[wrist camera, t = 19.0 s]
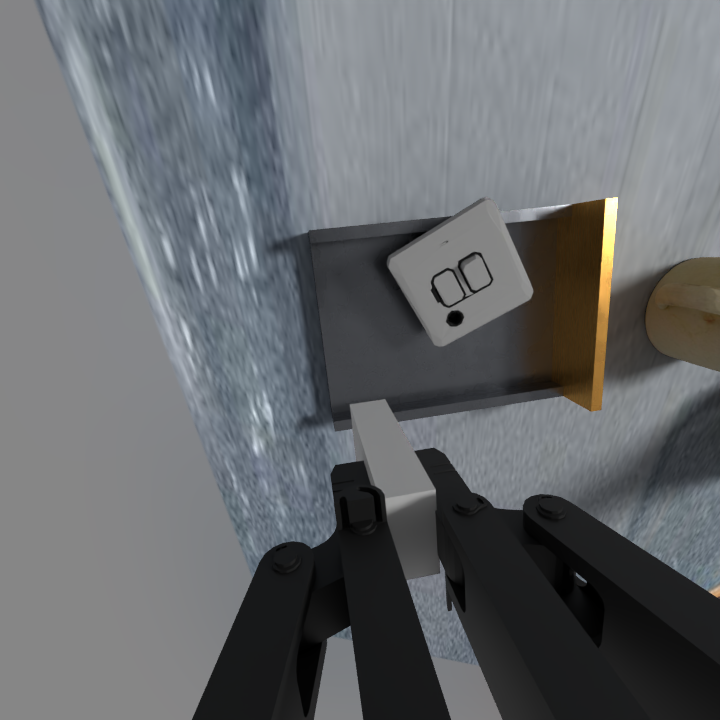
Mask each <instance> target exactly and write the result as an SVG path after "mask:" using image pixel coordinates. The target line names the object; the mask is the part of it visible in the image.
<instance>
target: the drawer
mask: <svg viewBox="0 0 720 720" xmlns="http://www.w3.org/2000/svg"><path fill="white" fill-rule="evenodd" d="M617 200H618V198H609V199H602V200H596V201H589V202H583V203H577V204H570V205H560V206H550V207H540V208H530V209H520V210H510V211H500V214H501V216H502V218H503V221H504V223H505V225H506V228H507V230H508V232H509V235H510V237H511V239H512V241H513V244H514V246H515V248H516V251H517V253H518V255H519V258H520V260H521V262H522V265H523V267H524V269H525V271H526V274H527V276H528V278H529V281H530V283H531V286H532V288H533V294H532V297H531V299H530V300H528V301H526V302H525V303H523V304H521V305H519V306H517V307H515V308H514V309H512V310H510V311H508V312H506V313H504V314H503V315H501V316H499V317H497V318H495V319H493V320H491V321H490V322H488V323H486V324H484V325H482V326H480V327H479V328H477V329H475V330H473V331H471V332H469V333H467V334H466V335H464V336H462V337H460V338H458V339H456V340H455V341H453V342H451V343H449V344H447V345H445V346H442V347H438V346H436V345H434V344H433V342H432V341H431V339H430V337H429V336H428V334H427V332H426V330H425V329H424V327H423V325H422V323H421V322H420V320H419V318H418V317H417V315H416V313H415V312H414V310H413V308H412V307H411V305H410V303H409V302H408V300H407V298H406V297H405V295H404V293H403V291H402V290H401V288H400V286H399V285H398V283H397V281H396V280H395V278H394V277H393V275H392V273H391V272H390V270H389V268H388V267H387V260H388V257H389V256H390V255H391V254H393V253H394V252H396V251H397V250H399V249H401V248H402V247H404V246H405V245H407V244H409V243H410V242H412V241H413V240H415V239H417V238H418V237H420V236H422V235H423V234H425V233H426V232H428V231H430V230H431V229H433V228H434V227H436V226H438V225H439V224H441V223H442V222H444V221H446V220H447V219H449V218H451V217H452V216H450V217H440V218H430V219H420V220H410V221H400V222H390V223H380V224H370V225H359V226H349V227H339V228H329V229H319V230H309V232H308V234H309V242H310V249H311V257H312V265H313V272H314V280H315V288H316V295H317V303H318V311H319V318H320V326H321V334H322V341H323V349H324V357H325V364H326V372H327V380H328V387H329V395H330V403H331V410H332V417H333V423H334V428H335V431H341V430H348V429H353V428H352V420H351V411H350V404H356V403H362V402H369V401H376V400H382V399H385V400H386V402H387V404H388V405H389V407H390V409H391V411H392V412H393V414H394V416H395V418H396V420H397V421H398V422H399V421H406V420H412V419H418V418H425V417H431V416H438V415H444V414H450V413H457V412H463V411H470V410H476V409H483V408H489V407H495V406H502V405H508V404H515V403H521V402H527V401H534V400H540V399H547V398H553V397H559V396H564V397H566V398H568V399H570V400H571V401H573V402H575V403H577V404H578V405H580V406H582V407H584V408H586V409H587V410H589V411H597V410H601V406H602V393H603V380H604V367H605V355H606V342H607V329H608V316H609V303H610V290H611V278H612V265H613V252H614V239H615V226H616V213H617Z"/></svg>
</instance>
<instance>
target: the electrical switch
mask: <svg viewBox="0 0 720 720" xmlns="http://www.w3.org/2000/svg"><path fill="white" fill-rule="evenodd" d="M387 267H388V268H389V270H390V272H391V273H392V275H393V277H394V278H395V280H396V281H397V283H398V285H399V286H400V288H401V290H402V291H403V293H404V295H405V297H406V298H407V300H408V302H409V303H410V305H411V307H412V308H413V310H414V312H415V313H416V315H417V317H418V318H419V320H420V322H421V323H422V325H423V327H424V329H425V330H426V332H427V334H428V336H429V337H430V339H431V341H432V342H433V344H434V345H436V346H438V347H442V346H445V345H447V344H449V343H451V342H453V341H455V340H456V339H458V338H460V337H462V336H464V335H466V334H467V333H469V332H471V331H473V330H475V329H477V328H479V327H480V326H482V325H484V324H486V323H488V322H490V321H491V320H493V319H495V318H497V317H499V316H501V315H503V314H504V313H506V312H508V311H510V310H512V309H514V308H515V307H517V306H519V305H521V304H523V303H525V302H526V301H528V300H530V299H531V297H532V294H533V288H532V286H531V283H530V281H529V278H528V276H527V274H526V271H525V269H524V267H523V265H522V262H521V260H520V258H519V255H518V253H517V251H516V248H515V246H514V244H513V241H512V239H511V237H510V235H509V232H508V230H507V228H506V225H505V223H504V221H503V218H502V216H501V214H500V212H499V209H498V207H497V205H496V203H495V202H494V201H493V200H491V199H489V198H487V197H484V198H482V199H480V200H478V201H476V202H475V203H473V204H471V205H470V206H468V207H467V208H465V209H463V210H462V211H460V212H459V213H457V214H455V215H454V216H452V217H451V218H449V219H447V220H446V221H444V222H442V223H441V224H439V225H438V226H436V227H434V228H433V229H431V230H430V231H428V232H426V233H425V234H423V235H422V236H420V237H418V238H417V239H415V240H413V241H412V242H410V243H409V244H407V245H405V246H404V247H402V248H401V249H399V250H397V251H396V252H394V253H393V254H391V255H390V256H389V257H388V260H387Z"/></svg>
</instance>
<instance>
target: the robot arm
mask: <svg viewBox="0 0 720 720" xmlns="http://www.w3.org/2000/svg"><path fill="white" fill-rule="evenodd" d="M350 411H351V420H352V428H353V437H354V446H355V454H356V462H351V463H345V464H339V465H335V467H334V469H333V470H332V472H331V482H332V490H333V497H334V507H335V514H336V521H337V526H336V529H335V532H334V533H333V535H332V536H331V537H330V538H329V539H328V540H327V541H325V542H324V543H322V544H320V545H319V546H317V547H314V548H312V549H311V548H310V547H309V546H307V545H306V544H304V543H301V542H294V541H293V542H286V543H282V544H280V545H277V546H275V547H273V548H272V549H271V550H269V551H268V552H267V553H266V554H265V555H264V556H263V558H262V559H261V561H260V563H259V565H258V567H257V570H256V572H255V574H254V577H253V579H252V582H251V584H250V586H249V588H248V591H247V593H246V595H245V598H244V600H243V602H242V605H241V607H240V609H239V612H238V614H237V616H236V619H235V621H234V623H233V626H232V628H231V630H230V632H229V635H228V637H227V639H226V642H225V644H224V647H223V649H222V651H221V653H220V656H219V658H218V660H217V663H216V665H215V667H214V670H213V672H212V675H211V677H210V679H209V681H208V684H207V686H206V688H205V691H204V693H203V696H202V698H201V700H200V702H199V705H198V707H197V709H196V712H195V714H194V716H193V719H192V720H314V715H315V709H316V703H317V698H318V692H319V687H320V681H321V675H322V670H323V664H324V659H325V653H326V647H327V638H329V637H331V636H333V635H335V634H336V633H338V632H340V631H342V630H343V629H345V628H347V627H349V626H350V625H351V632H352V639H353V647H354V654H355V661H356V669H357V676H358V684H359V691H360V698H361V705H362V712H363V720H451V718H450V715H449V712H448V709H447V706H446V702H445V699H444V696H443V693H442V690H441V687H440V684H439V681H438V678H437V675H436V672H435V668H434V665H433V662H432V659H431V656H430V653H429V650H428V646H427V643H426V640H425V637H424V634H423V631H422V628H421V625H420V622H419V619H418V615H417V612H416V609H415V606H414V603H413V600H412V597H411V594H410V591H409V587H408V584H407V581H406V580H409V579H414V578H419V577H424V576H429V575H434V574H439V573H440V561H439V558H440V560H441V563H442V565H443V567H444V569H445V580H446V600H447V608H448V611H451V610H452V602H453V604H454V607H455V609H456V611H457V614H458V616H459V618H460V621H461V623H462V625H463V628H464V630H465V632H466V635H467V637H468V639H469V642H470V644H471V646H472V649H473V651H474V653H475V656H476V658H477V661H478V663H479V665H480V667H481V670H482V672H483V674H484V677H485V679H486V682H487V684H488V686H489V689H490V691H491V693H492V696H493V698H494V700H495V703H496V705H497V707H498V710H499V712H500V714H501V717H502V719H503V720H720V599H718V598H717V597H715V596H714V595H712V594H711V593H709V592H708V591H706V590H705V589H703V588H702V587H700V586H698V585H697V584H695V583H694V582H692V581H691V580H689V579H688V578H686V577H685V576H683V575H682V574H680V573H678V572H677V571H675V570H674V569H672V568H671V567H669V566H668V565H666V564H665V563H663V562H661V561H660V560H658V559H657V558H655V557H654V556H652V555H651V554H649V553H648V552H646V551H645V550H643V549H641V548H640V547H638V546H637V545H635V544H634V543H632V542H631V541H629V540H628V539H626V538H625V537H623V536H621V535H620V534H618V533H617V532H615V531H614V530H612V529H611V528H609V527H608V526H606V525H605V524H603V523H601V522H600V521H598V520H597V519H595V518H594V517H592V516H591V515H589V514H588V513H586V512H585V511H583V510H581V509H580V508H578V507H577V506H575V505H574V504H572V503H571V502H569V501H567V500H565V499H563V498H561V497H557V496H553V495H544V494H539V495H534V496H531V497H529V498H528V499H526V500H525V502H524V504H523V510H506V509H497V508H494V507H493V506H492V504H491V503H490V502H489V501H488V500H487V499H486V498H484V497H483V496H480V495H478V494H476V493H472V492H471V491H470V490H469V488H468V487H467V485H466V484H465V482H464V481H463V480H462V478H461V477H460V475H459V474H458V472H457V471H455V468H454V467H453V465H452V464H451V463H450V461H449V460H448V458H447V457H446V455H445V454H444V453H442V452H440V451H439V450H437V449H435V448H430V449H423V450H417V451H414V450H413V448H412V446H411V445H410V443H409V441H408V439H407V437H406V436H405V434H404V432H403V430H402V429H401V427H400V425H399V423H398V421H397V420H396V418H395V416H394V414H393V412H392V411H391V409H390V407H389V405H388V404H387V402H386V400H385V399H382V400H376V401H369V402H362V403H356V404H350ZM576 573H578V574H579V575H580V576H581V577H582V578H584V579H585V580H586V581H587V583H585V582H583V581H582V580H580V579H579V578H578V577H577V576H576Z"/></svg>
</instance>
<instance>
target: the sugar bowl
mask: <svg viewBox="0 0 720 720" xmlns="http://www.w3.org/2000/svg"><path fill="white" fill-rule="evenodd" d="M645 325H646V331H647V335H648V337H649V340H650V341H651V343H652V344H653V345H654V347H655V348H656V349H657V350H658V351H660V352H661V353H663V354H665V355H667V356H670V357H673V358H676V359H680V360H683V361H686V362H689V363H692V364H695V365H699V366H702V367H705V368H709V369H712V370H716V371H719V372H720V257H701V258H694V259H691V260H687V261H685V262H682V263H680V264H678V265H677V266H675V267H674V268H673V269H671V270H670V271H669V272H668V273H667V274H666V275H665V276H664V277H663V278H662V279H661V280H660V281H659V283H658V284H657V285H656V287H655V289H654V291H653V292H652V294H651V296H650V299H649V302H648V305H647V309H646V317H645Z"/></svg>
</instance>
